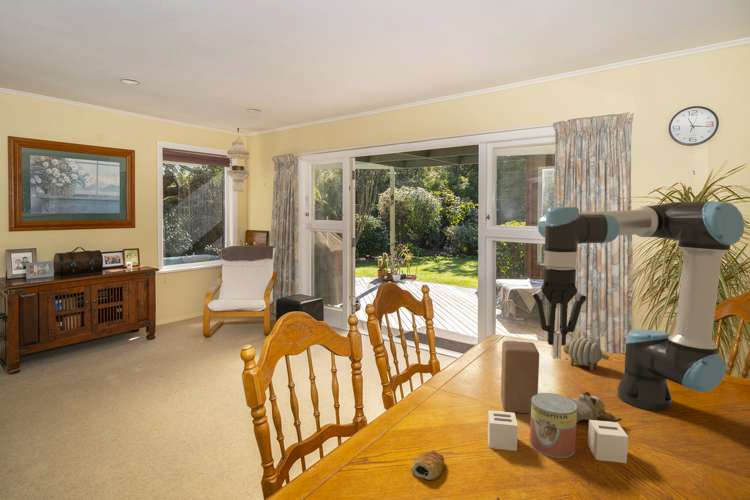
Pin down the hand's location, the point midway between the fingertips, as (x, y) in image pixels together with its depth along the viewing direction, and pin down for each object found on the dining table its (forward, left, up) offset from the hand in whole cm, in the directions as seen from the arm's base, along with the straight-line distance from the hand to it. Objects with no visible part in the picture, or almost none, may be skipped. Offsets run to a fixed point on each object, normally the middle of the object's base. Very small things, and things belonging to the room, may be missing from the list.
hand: (555, 356), depth 109 cm
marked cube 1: (+13, +1, -25) cm, 28 cm away
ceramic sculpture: (-13, -17, -25) cm, 33 cm away
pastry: (+32, +17, -25) cm, 44 cm away
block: (+6, -21, -25) cm, 33 cm away
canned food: (0, 0, -25) cm, 25 cm away
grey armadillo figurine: (-24, -61, -25) cm, 70 cm away
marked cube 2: (-13, +1, -25) cm, 28 cm away
